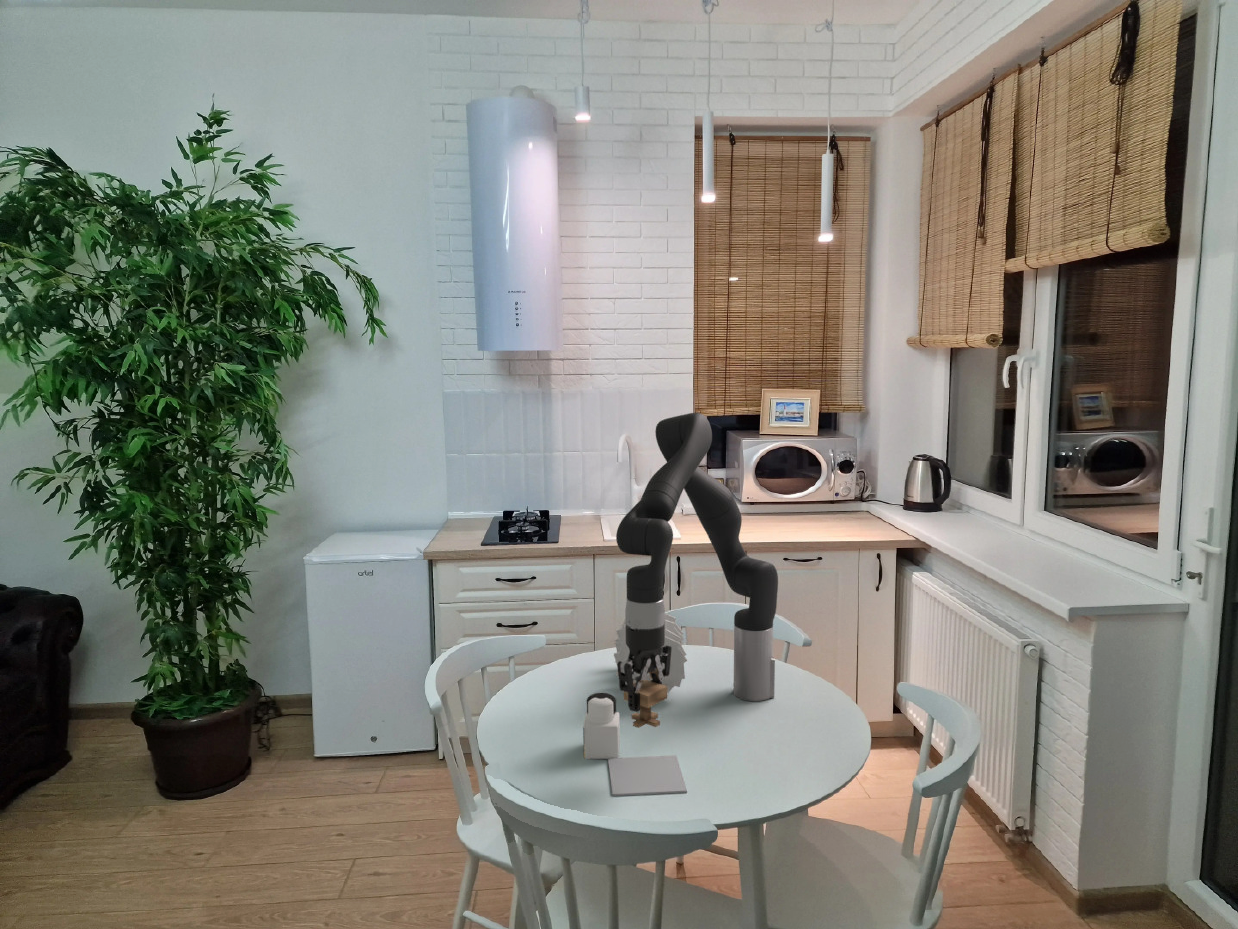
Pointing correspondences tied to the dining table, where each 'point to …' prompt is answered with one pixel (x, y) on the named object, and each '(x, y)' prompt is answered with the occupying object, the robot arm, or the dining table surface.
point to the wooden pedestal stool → (648, 703)
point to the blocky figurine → (601, 727)
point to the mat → (646, 775)
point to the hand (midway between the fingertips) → (645, 704)
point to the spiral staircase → (671, 639)
